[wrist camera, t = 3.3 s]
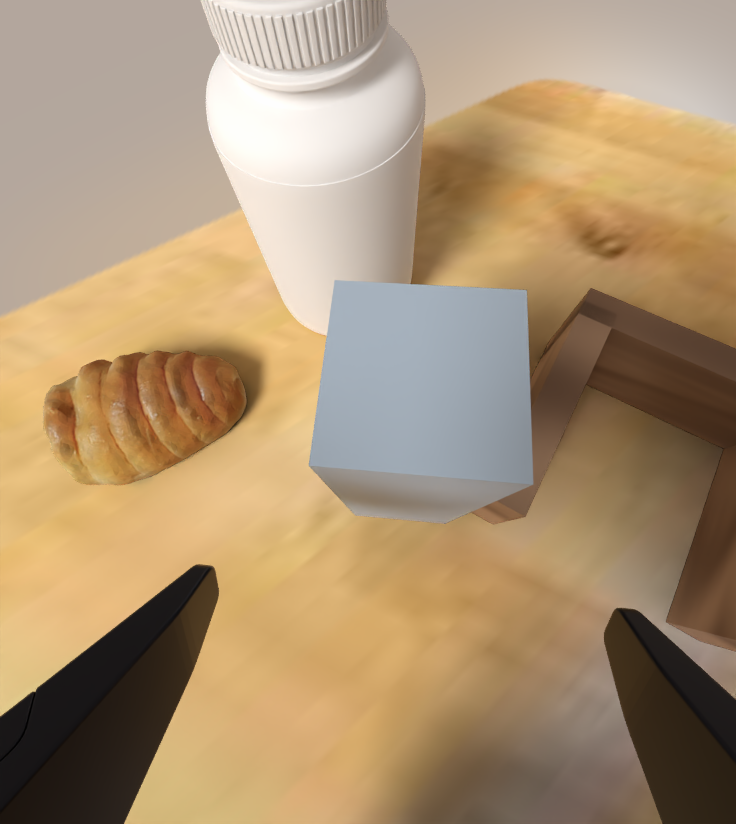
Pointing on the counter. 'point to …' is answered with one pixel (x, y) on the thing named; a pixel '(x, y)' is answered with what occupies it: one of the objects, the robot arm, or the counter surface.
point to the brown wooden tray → (663, 398)
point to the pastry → (140, 414)
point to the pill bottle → (319, 141)
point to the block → (424, 399)
